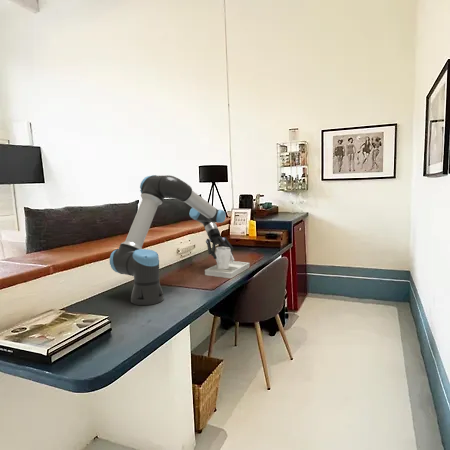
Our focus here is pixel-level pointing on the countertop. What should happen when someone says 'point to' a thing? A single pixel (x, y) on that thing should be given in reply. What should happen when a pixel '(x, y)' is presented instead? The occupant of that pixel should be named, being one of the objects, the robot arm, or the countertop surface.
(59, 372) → the countertop surface
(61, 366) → the countertop surface
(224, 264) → the cup
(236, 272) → the tray
